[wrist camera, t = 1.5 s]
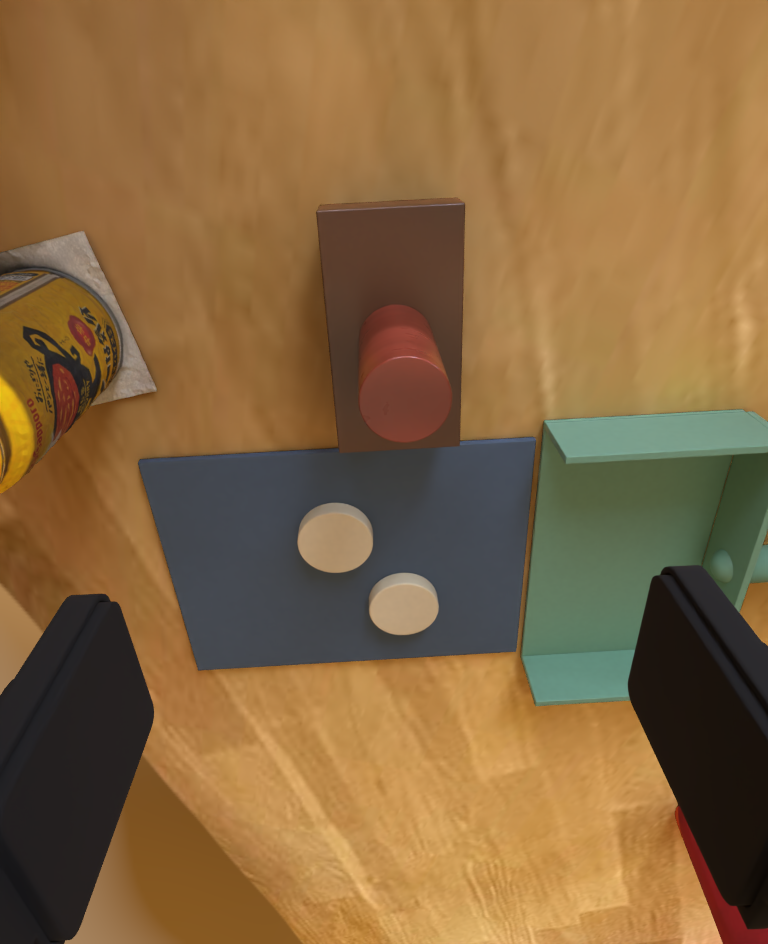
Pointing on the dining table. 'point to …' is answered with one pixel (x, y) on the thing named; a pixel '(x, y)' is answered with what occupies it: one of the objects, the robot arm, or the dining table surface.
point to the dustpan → (634, 535)
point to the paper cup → (718, 896)
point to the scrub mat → (347, 593)
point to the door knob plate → (394, 321)
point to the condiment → (58, 348)
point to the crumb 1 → (335, 537)
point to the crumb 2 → (403, 604)
